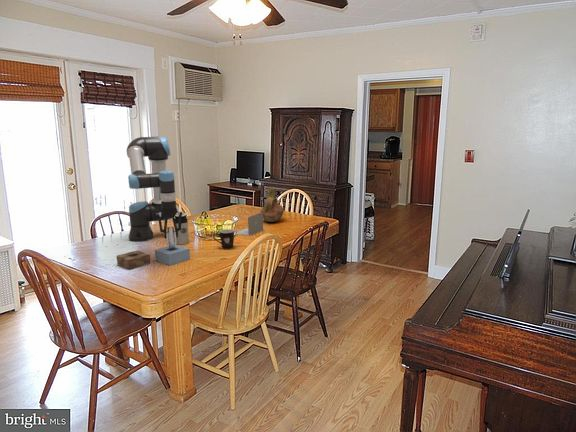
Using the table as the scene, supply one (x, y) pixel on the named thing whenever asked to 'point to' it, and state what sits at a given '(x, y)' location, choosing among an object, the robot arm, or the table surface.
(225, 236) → the coffee mug
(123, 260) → the block
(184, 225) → the travel mug
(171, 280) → the table surface
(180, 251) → the socket block
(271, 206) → the ceramic vessel
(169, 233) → the pin
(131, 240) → the robot arm
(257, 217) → the laptop
